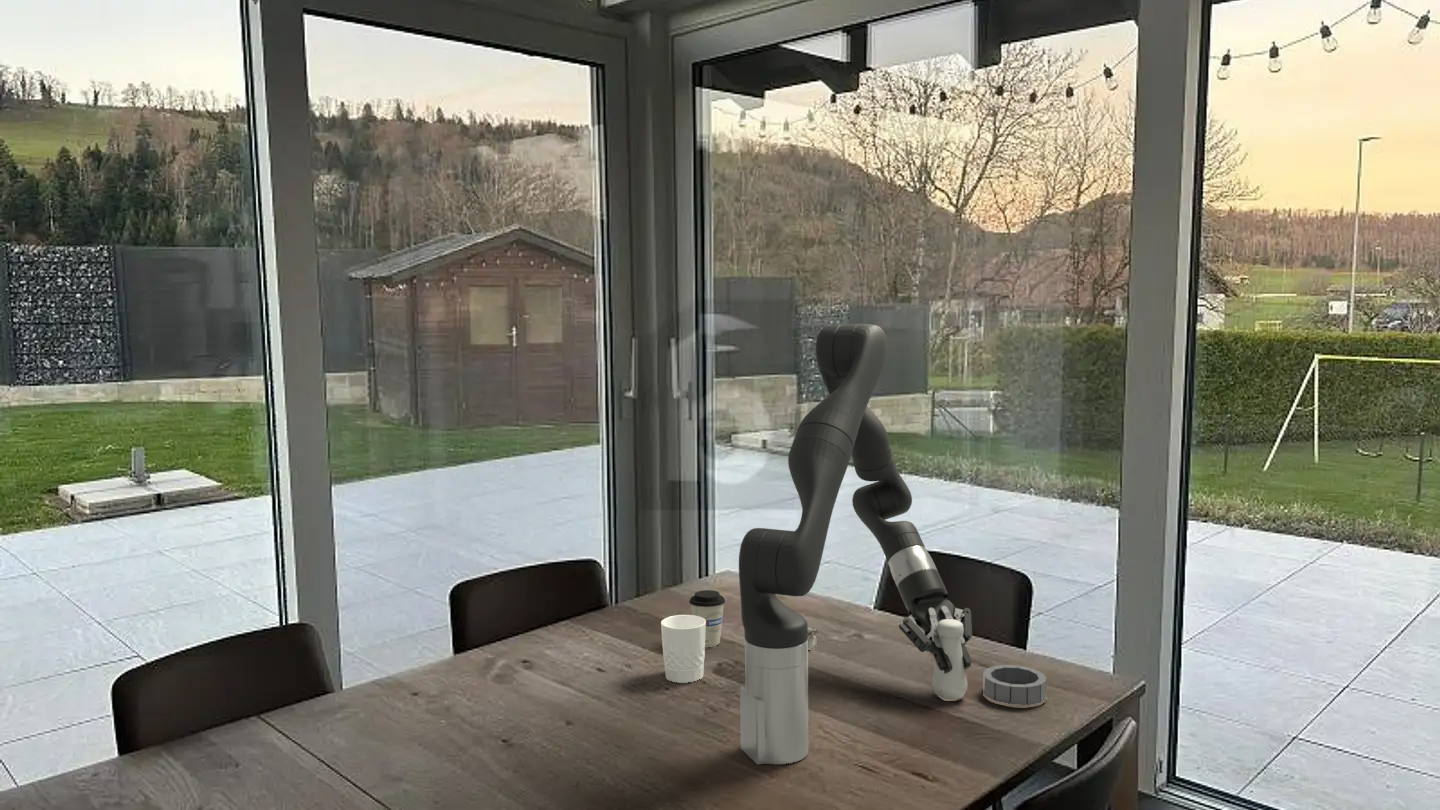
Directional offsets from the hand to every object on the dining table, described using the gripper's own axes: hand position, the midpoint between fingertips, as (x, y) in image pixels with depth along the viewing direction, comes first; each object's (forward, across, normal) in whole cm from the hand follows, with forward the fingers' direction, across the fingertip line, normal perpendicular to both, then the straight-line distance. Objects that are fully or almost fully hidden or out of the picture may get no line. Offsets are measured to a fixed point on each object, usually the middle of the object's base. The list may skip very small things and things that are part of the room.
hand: (957, 669), depth 171 cm
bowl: (+5, +10, +2) cm, 12 cm away
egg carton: (-22, -12, +30) cm, 39 cm away
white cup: (-17, -37, +25) cm, 47 cm away
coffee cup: (-26, -27, +34) cm, 51 cm away
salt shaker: (+3, 0, +5) cm, 6 cm away
